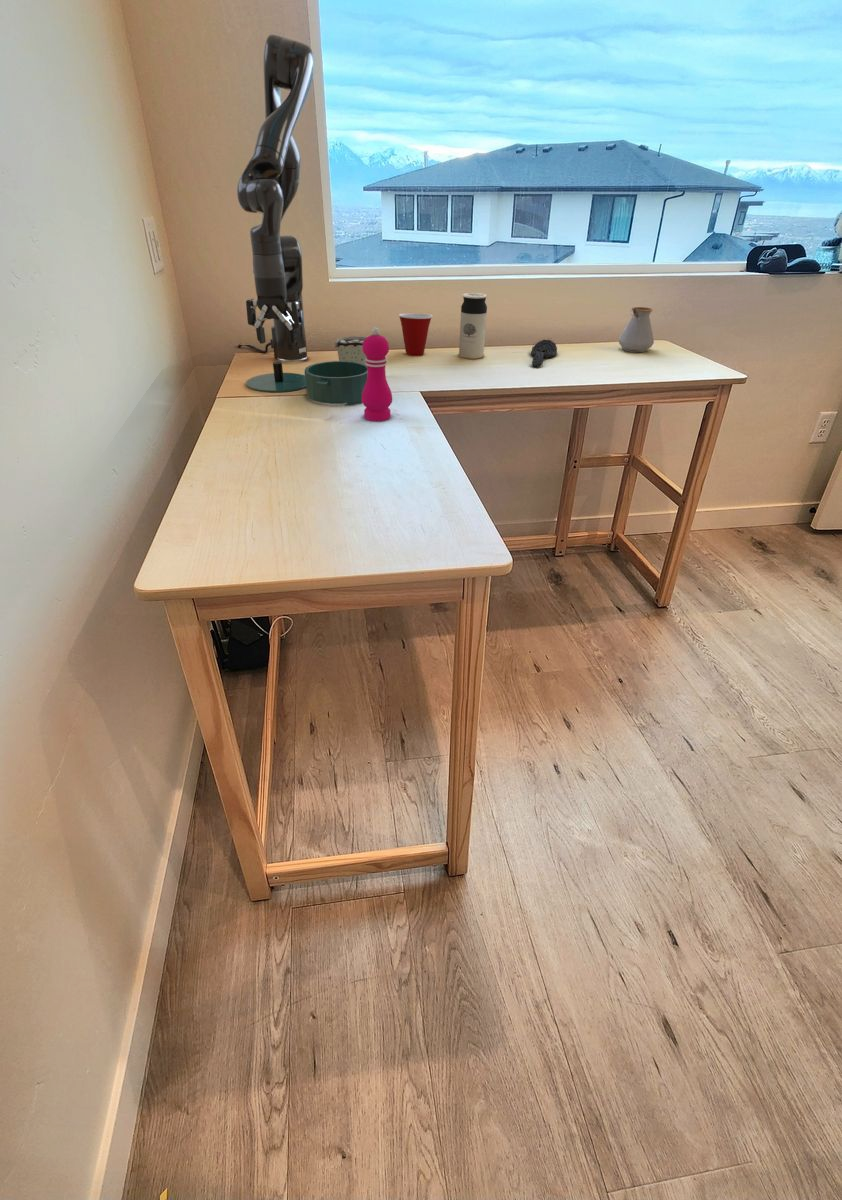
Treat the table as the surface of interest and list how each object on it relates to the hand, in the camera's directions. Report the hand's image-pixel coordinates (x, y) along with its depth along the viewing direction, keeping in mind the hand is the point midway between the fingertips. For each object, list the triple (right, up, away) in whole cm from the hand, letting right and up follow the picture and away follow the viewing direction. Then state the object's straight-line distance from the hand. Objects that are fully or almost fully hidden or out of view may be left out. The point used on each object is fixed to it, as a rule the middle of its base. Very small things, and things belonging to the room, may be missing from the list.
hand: (277, 343), depth 162 cm
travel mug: (+54, +11, +37) cm, 66 cm away
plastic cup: (+36, +12, +38) cm, 54 cm away
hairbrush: (+77, +10, +36) cm, 85 cm away
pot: (+16, -14, -1) cm, 22 cm away
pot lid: (-1, -8, +6) cm, 10 cm away
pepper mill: (+27, -24, -14) cm, 39 cm away
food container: (+20, -3, +16) cm, 26 cm away
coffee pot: (+108, +15, +45) cm, 118 cm away
